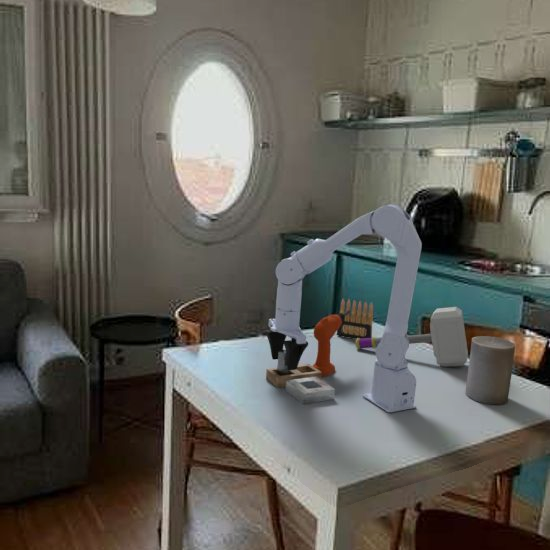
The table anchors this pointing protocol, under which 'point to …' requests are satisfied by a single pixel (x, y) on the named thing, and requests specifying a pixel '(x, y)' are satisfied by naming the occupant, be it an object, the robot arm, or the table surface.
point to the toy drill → (327, 341)
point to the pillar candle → (490, 370)
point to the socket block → (310, 390)
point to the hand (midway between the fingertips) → (284, 364)
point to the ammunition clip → (356, 321)
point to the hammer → (438, 337)
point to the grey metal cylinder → (282, 363)
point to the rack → (292, 374)
